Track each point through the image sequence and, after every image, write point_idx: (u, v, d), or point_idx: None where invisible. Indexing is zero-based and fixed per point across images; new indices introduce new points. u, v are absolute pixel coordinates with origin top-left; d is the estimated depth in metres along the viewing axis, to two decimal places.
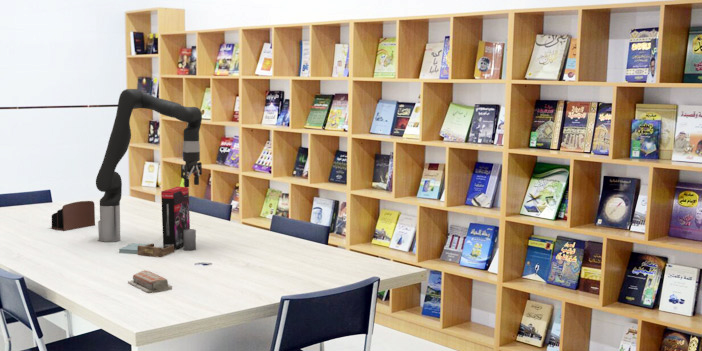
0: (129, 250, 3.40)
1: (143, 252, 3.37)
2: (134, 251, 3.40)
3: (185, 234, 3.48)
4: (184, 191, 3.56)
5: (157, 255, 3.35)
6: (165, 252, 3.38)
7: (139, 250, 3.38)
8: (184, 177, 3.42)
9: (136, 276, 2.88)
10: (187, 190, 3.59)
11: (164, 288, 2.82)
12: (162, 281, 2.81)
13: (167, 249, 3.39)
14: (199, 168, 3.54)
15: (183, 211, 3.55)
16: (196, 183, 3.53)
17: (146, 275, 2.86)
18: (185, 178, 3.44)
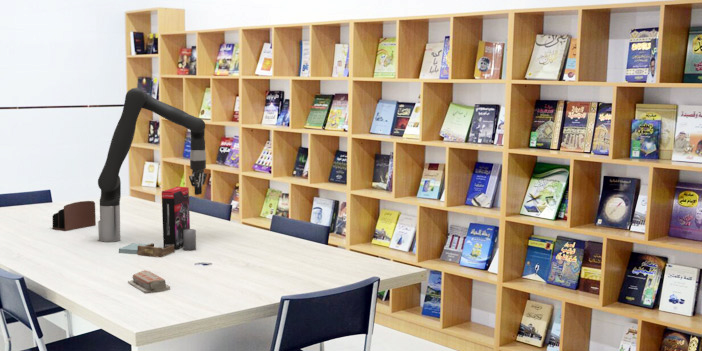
0: (129, 250, 3.40)
1: (143, 252, 3.37)
2: (133, 251, 3.40)
3: (185, 234, 3.48)
4: (184, 191, 3.56)
5: (157, 255, 3.35)
6: (165, 252, 3.38)
7: (139, 250, 3.38)
8: (195, 185, 3.69)
9: (135, 276, 2.88)
10: (187, 190, 3.59)
11: (162, 288, 2.81)
12: (160, 281, 2.81)
13: (167, 249, 3.39)
14: (203, 178, 3.76)
15: (183, 211, 3.55)
16: (199, 192, 3.74)
17: (145, 275, 2.86)
18: (195, 186, 3.70)
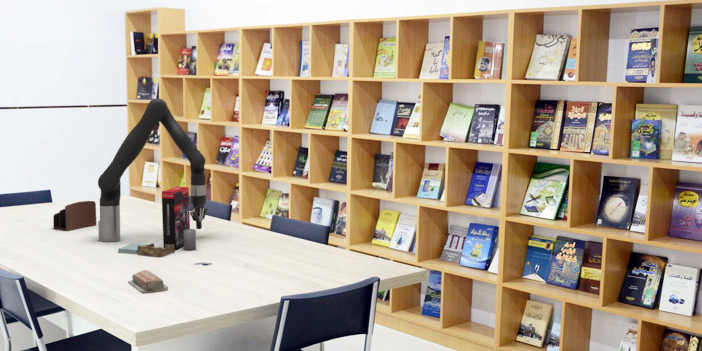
0: (128, 250, 3.40)
1: (143, 252, 3.37)
2: (133, 251, 3.40)
3: (185, 234, 3.48)
4: (184, 191, 3.56)
5: (157, 255, 3.35)
6: (165, 252, 3.38)
7: (139, 250, 3.38)
8: (196, 220, 3.71)
9: (135, 276, 2.88)
10: (187, 190, 3.59)
11: (159, 289, 2.80)
12: (157, 282, 2.80)
13: (167, 249, 3.39)
14: None
15: (183, 211, 3.55)
16: None
17: (144, 275, 2.86)
18: (197, 221, 3.73)
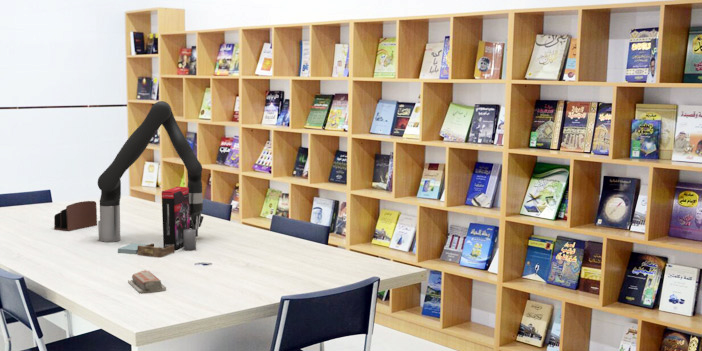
0: (128, 250, 3.40)
1: (143, 252, 3.37)
2: (132, 251, 3.40)
3: (185, 234, 3.48)
4: (184, 191, 3.56)
5: (157, 255, 3.35)
6: (165, 252, 3.38)
7: (139, 250, 3.38)
8: (192, 228, 3.69)
9: (134, 276, 2.89)
10: (187, 190, 3.59)
11: (157, 289, 2.80)
12: (155, 282, 2.80)
13: (167, 249, 3.39)
14: (200, 220, 3.75)
15: (183, 211, 3.55)
16: None
17: (143, 275, 2.86)
18: None
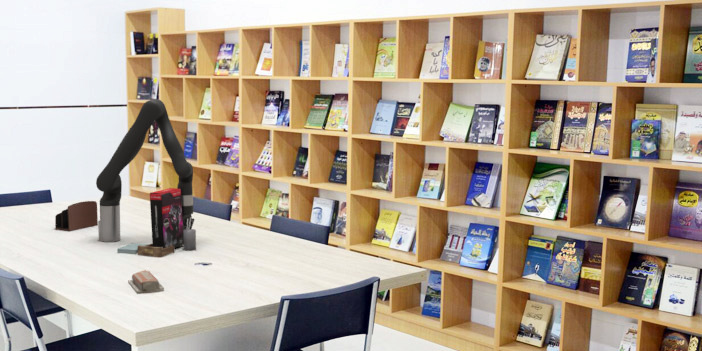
0: (127, 250, 3.40)
1: (143, 252, 3.37)
2: (132, 251, 3.40)
3: (185, 234, 3.48)
4: (175, 193, 3.50)
5: (157, 255, 3.35)
6: (165, 252, 3.38)
7: (139, 250, 3.38)
8: None
9: (134, 275, 2.89)
10: (178, 191, 3.53)
11: (155, 289, 2.80)
12: (153, 282, 2.79)
13: (167, 249, 3.39)
14: None
15: (174, 213, 3.49)
16: None
17: (142, 275, 2.86)
18: None
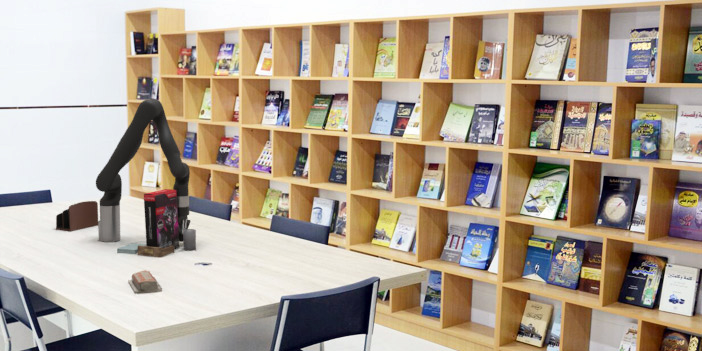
0: (127, 250, 3.40)
1: (143, 252, 3.37)
2: (132, 251, 3.40)
3: (185, 234, 3.48)
4: (170, 194, 3.46)
5: (157, 255, 3.35)
6: (165, 252, 3.38)
7: (139, 250, 3.38)
8: (179, 232, 3.57)
9: (133, 275, 2.89)
10: (174, 192, 3.49)
11: (153, 290, 2.79)
12: (151, 282, 2.79)
13: (167, 249, 3.39)
14: (186, 224, 3.63)
15: (169, 214, 3.45)
16: None
17: (141, 275, 2.86)
18: (180, 233, 3.58)
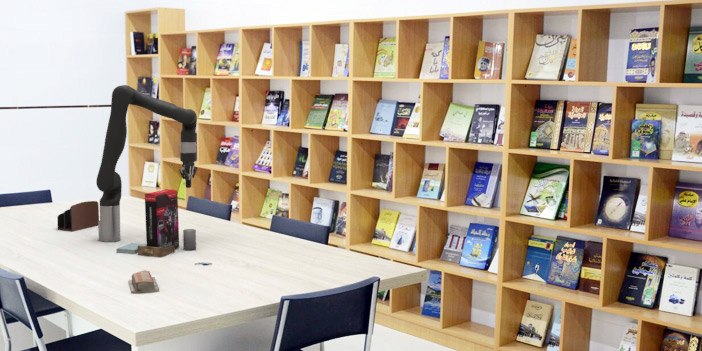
0: (126, 250, 3.40)
1: (143, 252, 3.37)
2: (131, 251, 3.40)
3: (185, 234, 3.48)
4: (171, 194, 3.46)
5: (157, 255, 3.35)
6: (165, 252, 3.38)
7: (139, 250, 3.38)
8: (186, 178, 3.60)
9: (133, 275, 2.89)
10: (175, 193, 3.49)
11: (149, 290, 2.79)
12: (148, 283, 2.79)
13: (167, 249, 3.39)
14: (193, 171, 3.66)
15: (169, 215, 3.45)
16: None
17: (140, 275, 2.86)
18: (186, 179, 3.62)
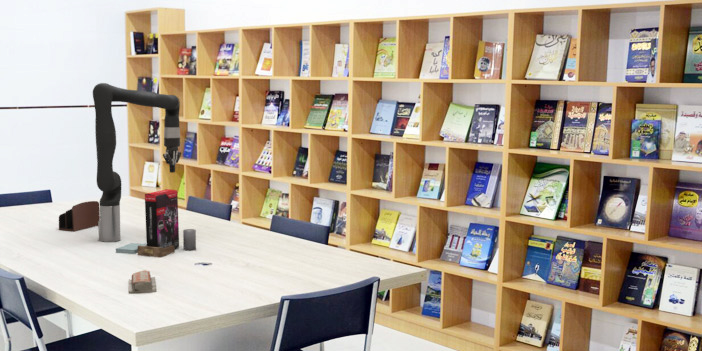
0: (126, 250, 3.40)
1: (143, 252, 3.37)
2: (130, 251, 3.40)
3: (185, 234, 3.48)
4: (171, 194, 3.46)
5: (157, 255, 3.35)
6: (165, 252, 3.38)
7: (139, 250, 3.38)
8: (169, 163, 3.65)
9: (132, 275, 2.89)
10: (175, 193, 3.49)
11: (147, 290, 2.79)
12: (145, 283, 2.78)
13: (167, 249, 3.39)
14: (177, 156, 3.71)
15: (169, 215, 3.45)
16: None
17: (139, 275, 2.86)
18: (170, 164, 3.66)
